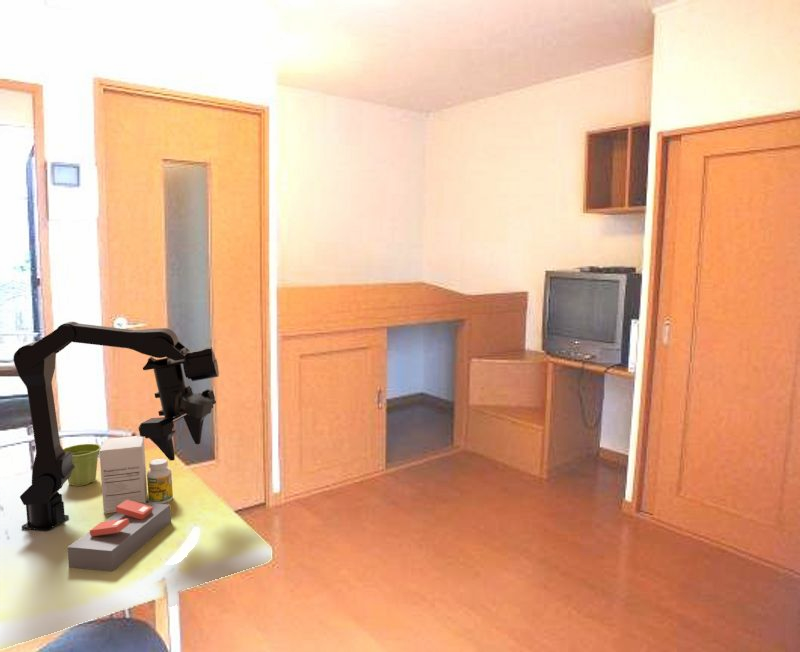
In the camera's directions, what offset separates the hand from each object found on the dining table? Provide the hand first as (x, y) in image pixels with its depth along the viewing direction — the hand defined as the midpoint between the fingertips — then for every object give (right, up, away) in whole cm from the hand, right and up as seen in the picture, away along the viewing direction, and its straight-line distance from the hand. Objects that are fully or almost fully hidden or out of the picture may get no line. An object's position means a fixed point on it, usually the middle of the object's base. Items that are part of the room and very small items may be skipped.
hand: (185, 451), depth 131 cm
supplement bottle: (-9, -13, +8) cm, 18 cm away
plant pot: (-33, -12, +18) cm, 40 cm away
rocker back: (-7, -10, -9) cm, 15 cm away
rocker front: (-8, -11, -17) cm, 22 cm away
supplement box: (-16, -14, +6) cm, 22 cm away
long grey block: (-7, -15, -11) cm, 20 cm away
